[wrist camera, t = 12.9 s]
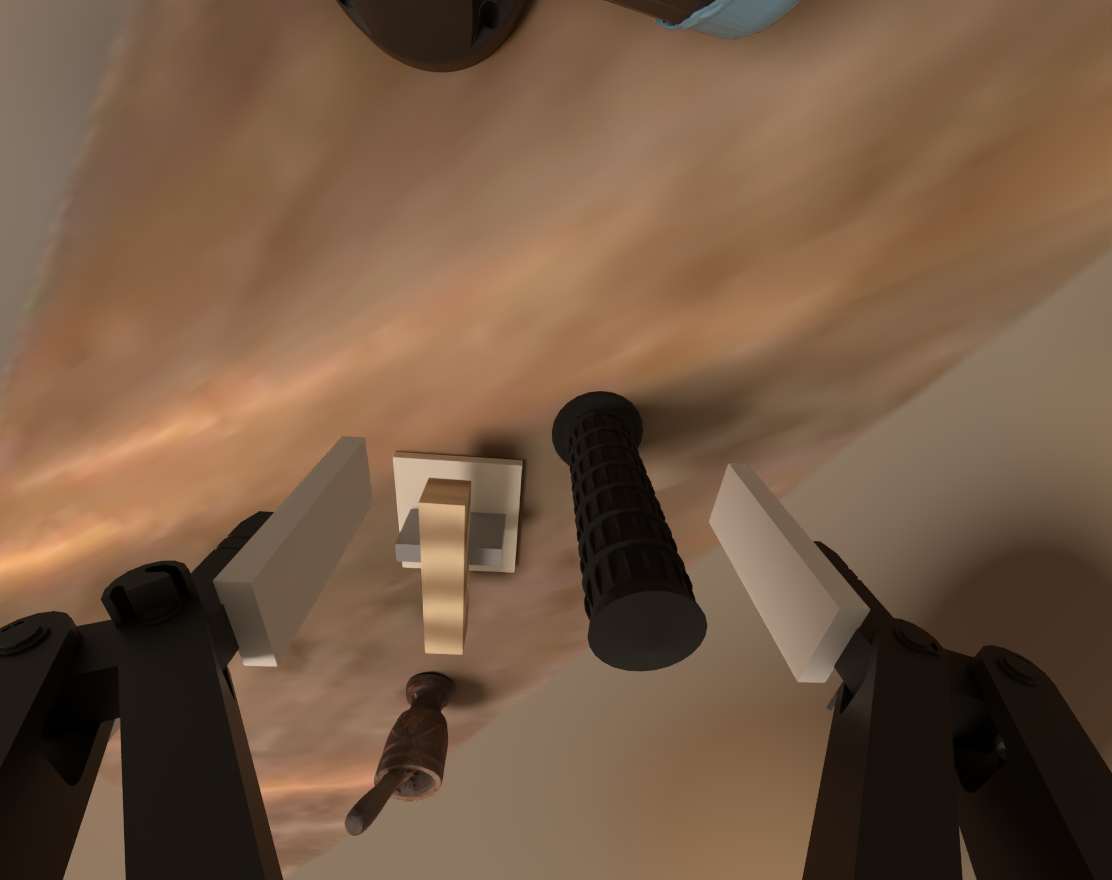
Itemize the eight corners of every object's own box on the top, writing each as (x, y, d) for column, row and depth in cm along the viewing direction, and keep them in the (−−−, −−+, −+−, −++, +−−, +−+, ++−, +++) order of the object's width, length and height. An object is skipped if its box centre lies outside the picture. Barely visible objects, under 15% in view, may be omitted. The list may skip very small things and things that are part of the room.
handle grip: (555, 388, 44) (548, 470, 49) (569, 580, 21) (554, 701, 26) (649, 394, 45) (634, 474, 50) (765, 588, 22) (715, 704, 26)
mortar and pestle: (374, 681, 66) (314, 852, 48) (404, 652, 63) (352, 823, 45) (438, 708, 70) (403, 876, 52) (469, 682, 67) (443, 850, 49)
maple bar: (428, 477, 41) (418, 502, 37) (471, 480, 41) (464, 505, 37) (433, 621, 50) (425, 652, 46) (467, 623, 50) (462, 654, 47)
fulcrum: (396, 451, 47) (373, 488, 41) (522, 460, 48) (519, 497, 42) (405, 560, 55) (387, 605, 48) (514, 565, 56) (511, 610, 49)
